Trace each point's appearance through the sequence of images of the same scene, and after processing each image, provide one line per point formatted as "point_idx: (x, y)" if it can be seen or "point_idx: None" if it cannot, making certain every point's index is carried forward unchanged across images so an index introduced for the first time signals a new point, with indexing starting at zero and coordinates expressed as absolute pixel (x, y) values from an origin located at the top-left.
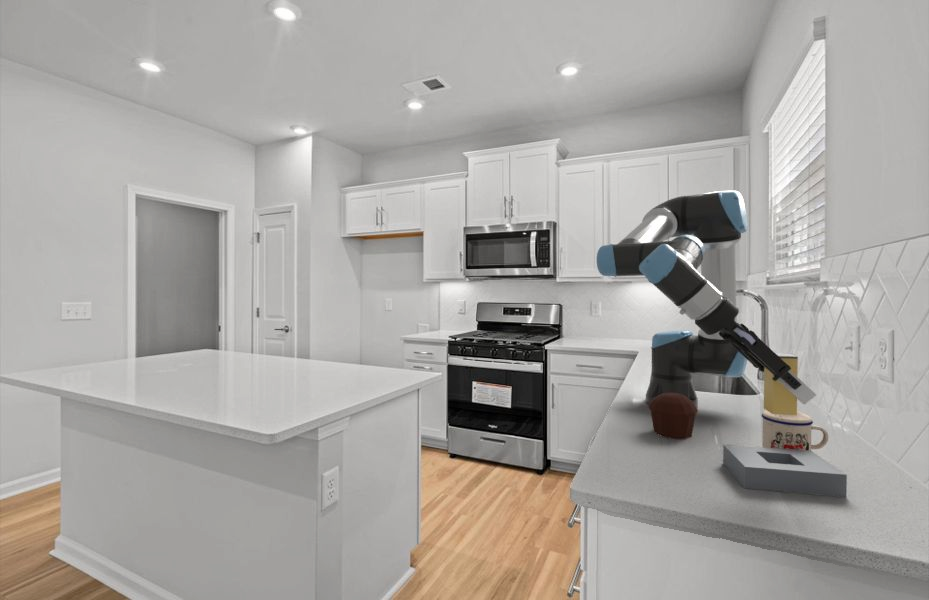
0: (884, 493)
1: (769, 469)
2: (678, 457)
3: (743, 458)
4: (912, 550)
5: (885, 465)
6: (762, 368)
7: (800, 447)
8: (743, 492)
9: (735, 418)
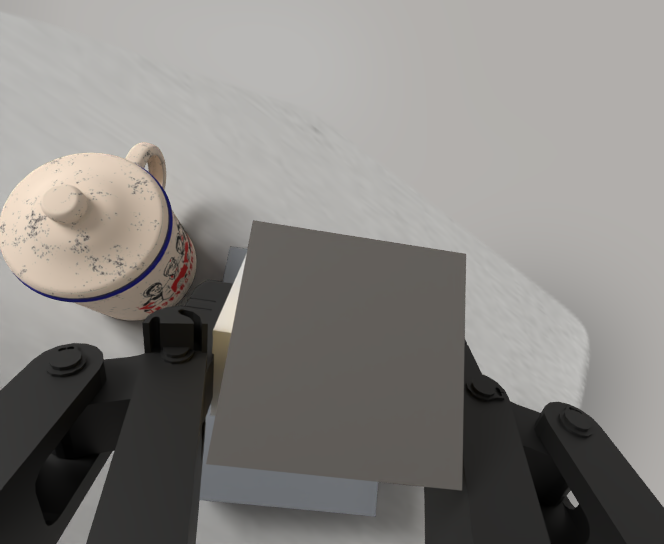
0: (351, 197)
1: None
2: None
3: (307, 487)
4: (564, 317)
5: (201, 85)
6: (203, 436)
7: (187, 249)
8: (386, 513)
9: None
